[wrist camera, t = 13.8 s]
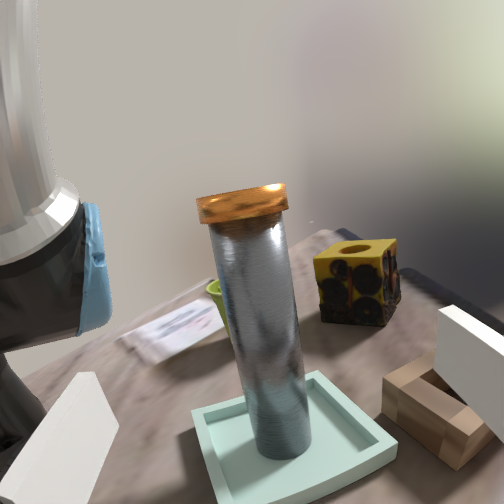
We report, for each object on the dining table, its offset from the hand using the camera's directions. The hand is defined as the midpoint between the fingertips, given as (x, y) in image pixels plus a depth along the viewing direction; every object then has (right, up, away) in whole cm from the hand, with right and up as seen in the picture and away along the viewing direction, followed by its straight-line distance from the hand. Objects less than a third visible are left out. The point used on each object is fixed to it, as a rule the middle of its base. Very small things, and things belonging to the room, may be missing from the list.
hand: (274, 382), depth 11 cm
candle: (+16, -5, +36) cm, 40 cm away
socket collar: (+17, -9, +10) cm, 22 cm away
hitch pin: (+2, -11, +12) cm, 16 cm away
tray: (+2, -11, +12) cm, 17 cm away
